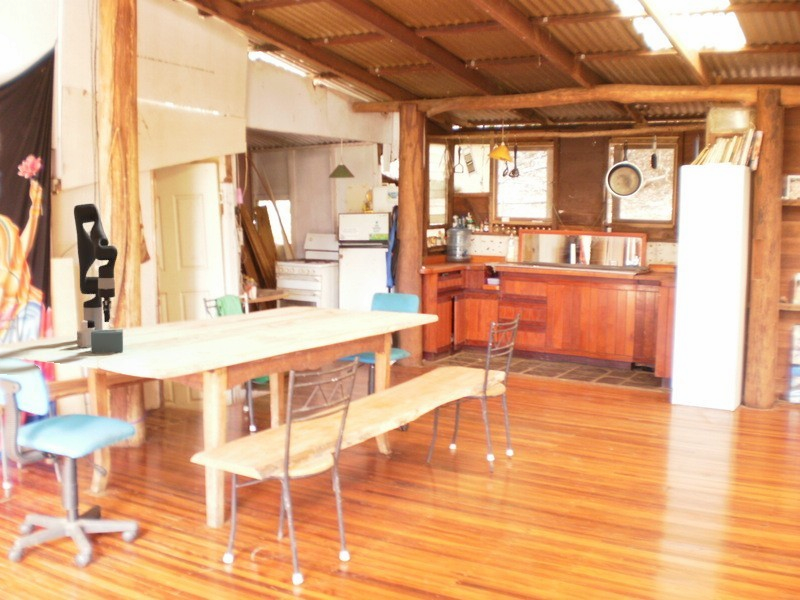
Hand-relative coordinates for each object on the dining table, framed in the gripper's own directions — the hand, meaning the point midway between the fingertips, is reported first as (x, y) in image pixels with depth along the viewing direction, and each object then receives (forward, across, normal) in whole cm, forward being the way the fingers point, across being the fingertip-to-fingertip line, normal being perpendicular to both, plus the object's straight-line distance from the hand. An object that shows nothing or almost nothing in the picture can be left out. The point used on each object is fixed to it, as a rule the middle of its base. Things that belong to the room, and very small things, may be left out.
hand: (107, 320), depth 395 cm
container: (+15, -19, -10) cm, 26 cm away
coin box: (+15, 0, 0) cm, 15 cm away
